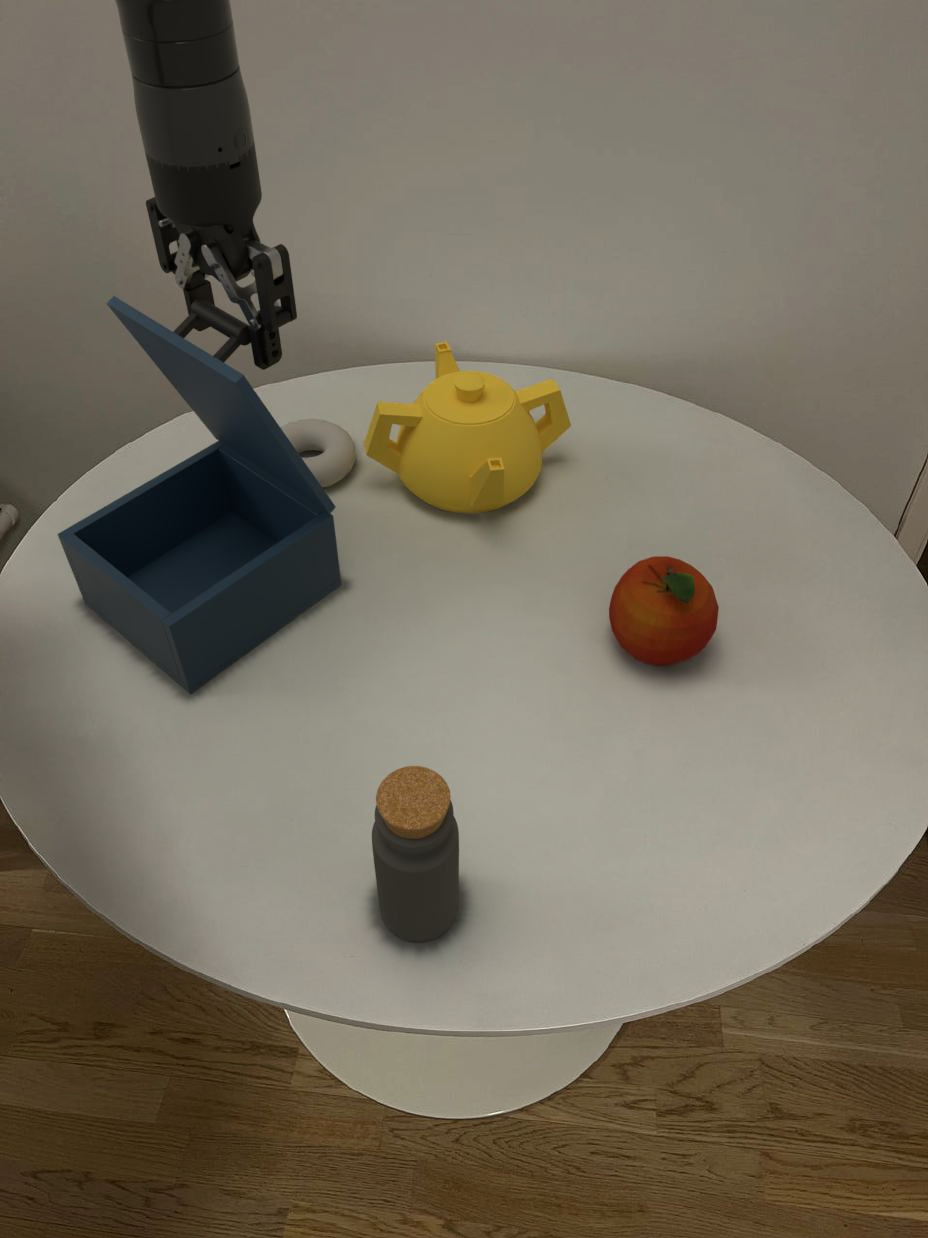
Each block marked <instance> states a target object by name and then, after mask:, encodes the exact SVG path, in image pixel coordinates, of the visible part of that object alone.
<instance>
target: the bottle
mask: <svg viewBox="0 0 928 1238" xmlns="http://www.w3.org/2000/svg"><path fill="white" fill-rule="evenodd" d="M375 794H376V795H375V802H376V804H375V808H374V822H373V825H372V830H371V843H372V844H371V846H372V848H371V849H372V857H373V866H374V873H375V881H376V889H377V890H376V891H377V899H378V906H379V913H380V916H381V918H382V921H383V923H384V924H385V926H386V927H387V929H388V930H389V931H390V932H391V933H392V934H393V935H394V936H396V937H398V938H400V939H403V940H405V941H408V942H416V943H419V942H420V943H423V942H427V941H431V940H434V939H437V938H438V937H441V935H443V934H444V933H445V932H447V930H449V929H450V927H451V926H452V924H453V923H454V921H455V919H456V918H457V917H456V916H457V914H458V908H459V891H460V890H459V883H460V832H459V825H458V822H457V819H456V818H455V816H454V815H455V813H454V806H453V803H452V800H451V797H452V796H451V789H450V788H449V785H448V783H447V781H446V780H445V779H444V778H443V776H441V774H440V773H438V772H436V771H435V770H433V769H431V768H429V767H425V766H421V765H408V766H407V765H406V766H403V767H400V768H398V769H395V770H393V771H391V772H390V773H388V774H387V776H386V777H385V778H383V779H382V781H381V782H380V784H379V786H378V788H377V791H376V793H375Z"/></svg>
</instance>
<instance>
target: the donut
mask: <svg viewBox="0 0 928 1238" xmlns="http://www.w3.org/2000/svg"><path fill="white" fill-rule="evenodd" d="M280 428H281V429H282V431H283V432H284V433H285V435H286V436H287V438H288V439H289V441H290V442H291V443H292V445H293V446H294V448H295V449H296V451H297V452H298V453H299V454H300V453H302V452H306V451H307V452H308V451H318V452H321V454H319V455H316V456H312V457H301V458H302V459H303V461H304V462H305V463H306V465H307V466H308V468H309V469H310V471H311V472H312V474H313V475H314V476H315V478H316V479H317V481H318V482H319V484H320V485H321V486H322V488H323V489H324V488H327V487H330V486H332V485H334V484H336V483H337V482H340V481H341V480H343V479H344V478H345V477H346V476H347V475H348V474H349V473H350V472H351V470H352V469H353V466H354V464H355V461H356V459H357V451H356V449H357V448H356V443H355V441H354V440H353V438H352V437H351V435H350V433H348V431H347V430H345V429H344V428H343V427H341V426H340V425H339V424H337V423H335V422H331V421H328V420H324V419H317V418H308V419H307V418H305V419H298V420H295V421H291V422H288V423H286V424H284V425H282V426H280Z"/></svg>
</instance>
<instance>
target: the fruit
mask: <svg viewBox="0 0 928 1238" xmlns="http://www.w3.org/2000/svg"><path fill="white" fill-rule="evenodd" d="M719 609H720V607H719V604H718V600H717V597H716V594H715V590H714V588H713V586H712V584H711V583H710V582H709V580H708V579H707V578H706V577H705V576H704V574H703V573H702V572H701V571H699V570H698V569H697V568H695V567H694V566H693V565H692V564H689V563H687V562H686V561H684V560H681V559H679V558H675V557H672V556H666V555H665V556H664V555H663V556H662V555H660V556H659V555H658V556H657V555H656V556H651V557H647V558H645V559H642V560H639V561H637V562H636V563H634V564H633V565H632V566H630V567H629V568H628V569H627V570H626V571H625V572H624V573H623V574H622V576H621V577H620V578H619V580H618V582H617V583H616V585H615V586H614V589H613V592H612V594H611V598H610V601H609V606H608V619H609V623H610V628H611V632H612V634H613V636H614V638H615V640H616V641H617V643H618V645H619V646H620V647H621V649H622V650H624V651H625V652H626V653H627V654H629V656H630V657H632V658H634V660H637V661H639V662H641V663H644V664H646V665H651V666H657V667H662V666H663V667H664V666H673V665H676V664H679V663H682V662H683V663H684V662H686V661H689V660H691V659H692V658H693V657H695V656H696V655H698V654H699V653H700V652H701V651H704V649H705V648H706V647H707V646H708V644H709V643H710V641H711V640H712V638H713V636H714V634H715V633H716V630H717V628H718V627H717V626H718V620H719Z"/></svg>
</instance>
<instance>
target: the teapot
mask: <svg viewBox="0 0 928 1238" xmlns="http://www.w3.org/2000/svg"><path fill="white" fill-rule="evenodd" d="M434 360H435V361H434V365H435V366H434V367H435V379H433V380H432V381H431V382H429V384H428V385H427V386H426V387H425V388H424V389H423V390H422V391H421V393H420V394H419V395H418V396H417V397H416V399H415V400H414V402H413V403H407V402H406V403H405V402H404V403H403V402H391V401H390V402H389V401H377V402H376V405H375V409H374V411H373V414H372V418H371V421H370V423H369V425H368V426H369V427H368V429H367V433H366V436H365V439H364V442H363V444H364V450H365V455H366V456H367V457H368V458H370V459H372V460H374V461H375V462H377V463H378V464H380V465H382V466H383V467H385V468H387V469H389V470H391V471H392V472H394V473H396V474H397V475H398V476H399V478H400V480H401V481H402V483H403V485H404V486H405V487H406V488H407V489H408V490H409V491H410V492H411V493H412V494H414V495H415V496H416V497H418V498H419V499H420V500H422V501H423V502H425V503H427V504H429V505H430V506H433V507H435V508H436V509H440V510H442V511H446V512H450V513H455V514H466V515H467V514H481V513H488V512H491V511H494V510H498V509H501V508H502V507H505V506H506V505H509V504H510V503H512V502H514V501H516V500H517V499H519V498H520V497H522V496H523V495H524V494H525V493H527V492H528V491H529V490H530V489H531V488H532V487H533V486H534V484H535V482H536V481H537V479H538V477H539V475H540V473H541V470H542V466H543V465H542V464H543V463H542V462H543V453H544V452H545V451H546V450H547V449H548V448H549V447H550V446H551V445H552V444H553V443H554V442H556V441H557V440H558V439H559V438H560V437H561V436H562V435H563V434H565V432H567V431H568V430H569V429H570V428H571V427H572V424H571V421H570V417H569V413H568V411H567V408H566V404H565V401H564V398H563V394H562V391H561V388H560V387H559V386H558V383H557V382H556V381H555V379H554V378H550V379H547V380H544V381H540V382H538V383H535V384H532V385H530V386H526V387H524V388H521V389H518V390H515V389H514V388H513V387H512V386H511V385H510V384H509V383H508V382H507V381H505V380H504V379H503V378H500V377H498V376H496V375H495V374H493V373H492V374H491V373H488V372H484V371H478V370H460V368H459V366H458V364H457V361H456V359H455V357H454V355H453V352H452V348H451V346H450V345H449V343H448V341H443V342H442V341H441V342H436V343H435V342H434ZM541 406H544V411H545V413H544V414H543V415H542V416H541V417H540V418H538V420H537V421H535V420H534V417H533V416H532V415H531V411H532V410H535V409H537V408H539V407H541ZM393 425H397V426H398V425H399V430H398V433H397V437H396V441H394V440H392V439H390V435H391V431H392V427H393Z"/></svg>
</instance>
